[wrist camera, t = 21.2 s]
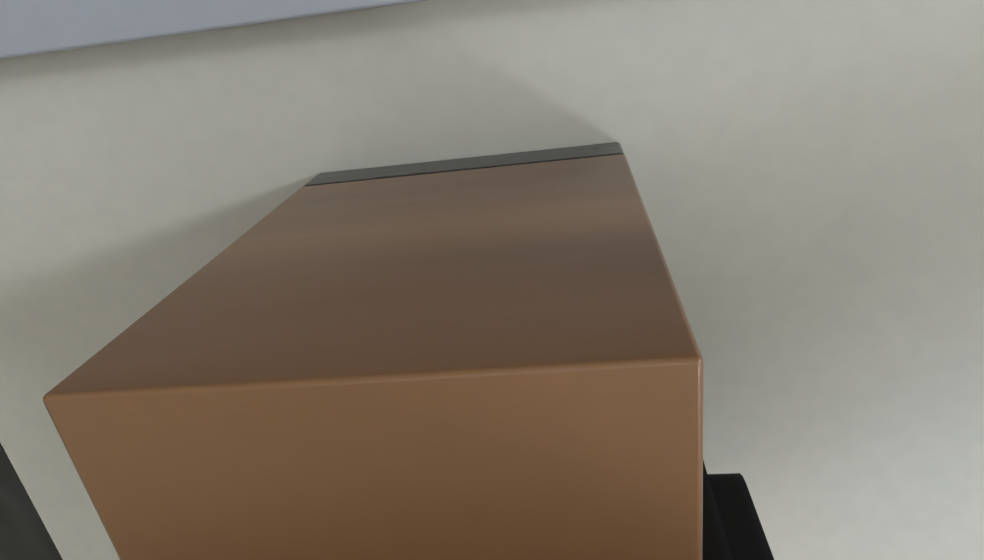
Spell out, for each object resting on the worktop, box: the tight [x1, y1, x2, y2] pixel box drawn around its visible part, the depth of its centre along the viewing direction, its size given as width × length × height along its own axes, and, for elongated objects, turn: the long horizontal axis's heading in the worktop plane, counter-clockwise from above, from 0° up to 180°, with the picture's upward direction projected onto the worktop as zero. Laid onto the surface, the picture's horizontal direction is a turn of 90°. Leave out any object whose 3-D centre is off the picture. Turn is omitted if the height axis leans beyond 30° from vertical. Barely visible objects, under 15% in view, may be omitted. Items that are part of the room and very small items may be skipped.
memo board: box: [0, 0, 984, 560], centre depth 13 cm, size 22×18×2 cm
